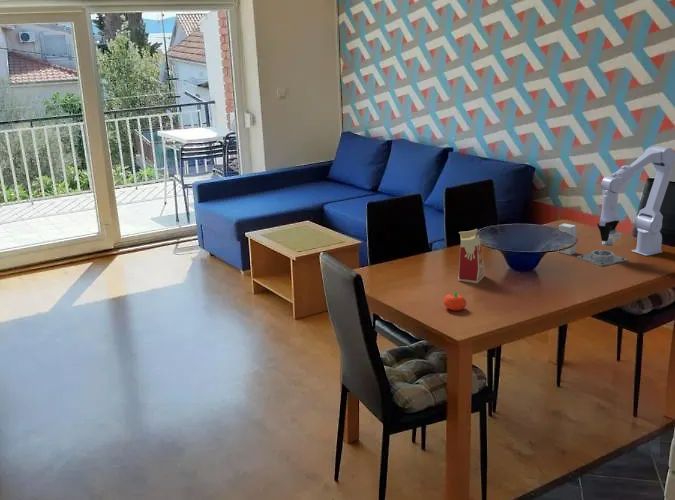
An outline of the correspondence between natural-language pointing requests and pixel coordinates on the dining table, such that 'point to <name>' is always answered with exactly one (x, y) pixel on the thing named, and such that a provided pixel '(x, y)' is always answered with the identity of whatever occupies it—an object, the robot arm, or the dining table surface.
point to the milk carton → (470, 257)
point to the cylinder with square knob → (611, 238)
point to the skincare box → (571, 230)
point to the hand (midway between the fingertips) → (607, 239)
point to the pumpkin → (454, 302)
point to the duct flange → (602, 257)
